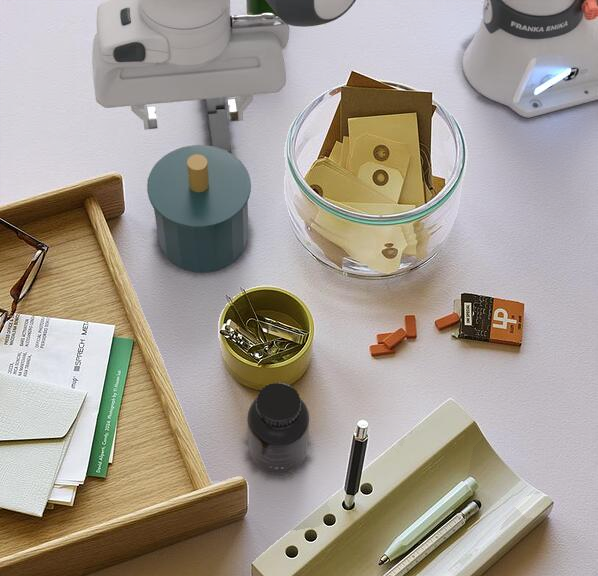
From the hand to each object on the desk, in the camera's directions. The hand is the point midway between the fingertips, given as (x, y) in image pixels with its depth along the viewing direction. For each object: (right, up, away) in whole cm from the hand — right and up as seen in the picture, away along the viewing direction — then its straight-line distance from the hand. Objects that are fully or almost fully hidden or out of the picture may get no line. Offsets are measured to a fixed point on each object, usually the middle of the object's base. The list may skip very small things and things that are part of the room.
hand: (193, 121), depth 116 cm
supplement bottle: (+9, -37, +5) cm, 38 cm away
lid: (0, -5, +10) cm, 11 cm away
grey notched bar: (+1, +8, +27) cm, 28 cm away
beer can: (+7, +22, +35) cm, 42 cm away
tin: (-1, -9, +19) cm, 21 cm away
